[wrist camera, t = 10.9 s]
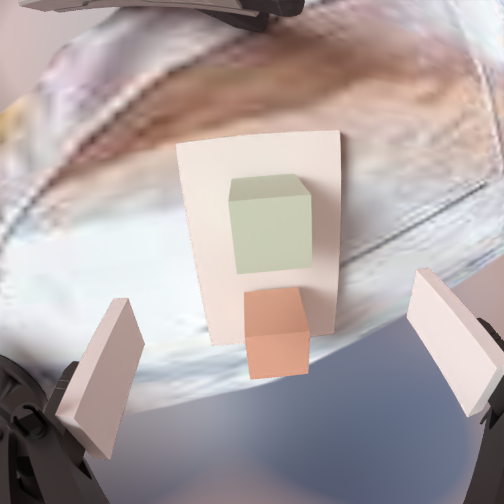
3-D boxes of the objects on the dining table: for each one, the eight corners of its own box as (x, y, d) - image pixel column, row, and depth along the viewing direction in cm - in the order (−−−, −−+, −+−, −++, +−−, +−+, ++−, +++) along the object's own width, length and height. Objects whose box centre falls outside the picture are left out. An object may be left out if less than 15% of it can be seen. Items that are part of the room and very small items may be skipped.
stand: (212, 338, 35) (207, 397, 27) (178, 142, 26) (150, 157, 18) (331, 327, 35) (351, 382, 27) (335, 129, 26) (374, 140, 18)
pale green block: (237, 236, 27) (237, 274, 21) (231, 178, 25) (228, 201, 19) (296, 231, 27) (311, 267, 21) (294, 173, 25) (311, 194, 19)
